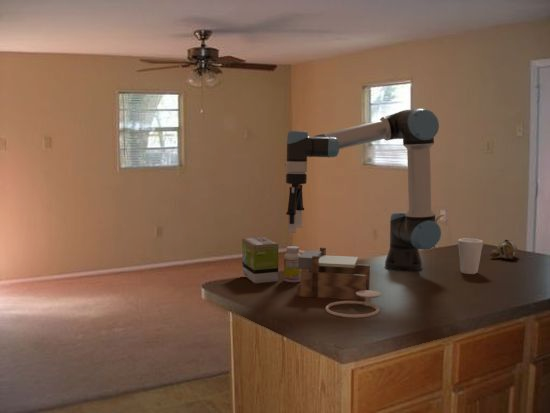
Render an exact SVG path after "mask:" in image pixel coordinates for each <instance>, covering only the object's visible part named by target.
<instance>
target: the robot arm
mask: <svg viewBox="0 0 550 413" xmlns="http://www.w3.org/2000/svg"><path fill="white" fill-rule="evenodd" d="M439 122H440V121H439V120H438V117H437V116H436V113H434V112H433V111H431V110H429V109H427V108H414V109H404V110H401V111H398V112H396V113H392V114H389V115H386V116H385V115H384V116H382V117H381V118H380V119H379V120H376V121H371V122H367V123H363V124H359V125H354V126H350V127H347V128H342V129H337V130H333V131H328V132H324V133H321V134H316V135H310V136H309V135H308V134H309V133H308V131H307V130H290V131H287V136H286V163H284V166H285V167H286V172H287V173H286V176H285V182H286V184H287V185H291V187H289V194H288V195H289V196H288V204H287V206H288V207H287V211H286V216H288V217H287V218H288V220H287V222H288V224H287V226H288V227H287V229H288V230H287V233H289V234H296V233H297V229H298V228H299V229H302V227H303V211H305V207H304V201H303V185H305V184H307V180H308V179H307V178H308V176H307V174H306V173H307V172H308V157H309V158H313V157H314V158H336V157H338V155H339V152H340V150H343V149H347V148H352V147H355V146H360V145H363V144H368V143H369V144H370V143H372V142H376V141H380V140H384V141H391V140H402V145H403V147H405V149H406V150H407V153H406V154H407V155H406V156H407V158H406V159H407V183H408V184H407V186H408V187H407V188H408V189H407V190H408V192H407V193H408V210H407V211H406V212H393V213H391V216H390V221H389V223H390V225H389V226H390V227H389V228H390V229H389V230H390V232H389V251H388V253H387V255H386V258H385V261H384V262H385V264H384V267H385V268H386V269H389V270H395V271H404V272H405V271H406V272H410V271H411V272H413V271H419V270H422V269H423V261H422V258H421V254H420V250H424V251H425V250H431V249H433V248H434V247H435V246H436V245H437V244H438V243H439V242H440V240H441V236H442V231H441V227H440V225H439V224H438V223H437V221H436V213H435V212H434V211H433V209H432V189H431V188H432V185H431V184H432V183H431V182H432V181H431V180H432V178H431V148H432V146H433V145H434V144H435V137H436V135H437V134H438V132H439V128H440V124H439Z"/></svg>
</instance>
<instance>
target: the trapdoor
mask: <svg viewBox="0 0 550 413" xmlns="http://www.w3.org/2000/svg"><path fill="white" fill-rule="evenodd" d="M300 254H301V255H300V256H299V257H298V269H302V270H309V269H312V256H319V266H331V267H350V268H354V267H355V265H356V264H358V261H359V256H347V255H346V256H345V255H343V256H342V255H327V254H326V255H322V251H320V250H304V251H303V252H302V253H300Z"/></svg>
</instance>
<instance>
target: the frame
mask: <svg viewBox="0 0 550 413" xmlns="http://www.w3.org/2000/svg"><path fill="white" fill-rule="evenodd" d="M319 251H322V255H327V247H319ZM370 272H371V265H370V264H358V263H356V265H355V267H354V268H350V267H331V266H319V256H312V269H308V271H303V270H302V271H301V277H300V281H299V283H300V284H299V285H298V286H297V288H296V289H297V297H303V298H304V297H306V298H307V297H308V298H319V299H320V298H323V299H338V300H350V301H366V298H364V297H360V296H358V295H357V294H356V292H358V291H362V290H370V279H371V278H370V277H371V276H370V275H371V273H370Z"/></svg>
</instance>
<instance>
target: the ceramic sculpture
mask: <svg viewBox="0 0 550 413" xmlns="http://www.w3.org/2000/svg"><path fill="white" fill-rule="evenodd" d="M517 253H518V248H517V245H516V243H515V242H513V240H512V239H511V240H508V239H504V240H503V241H502V242H501V243H499V244H498V245H497V248H496V249H492V250H491V252H490V254H489V256H490V257H491V258H498V257H499V258H500V259H503V258H504V259H506V260H507V259H509V260H513V259H514V258H515V256H516V255H517Z"/></svg>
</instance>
